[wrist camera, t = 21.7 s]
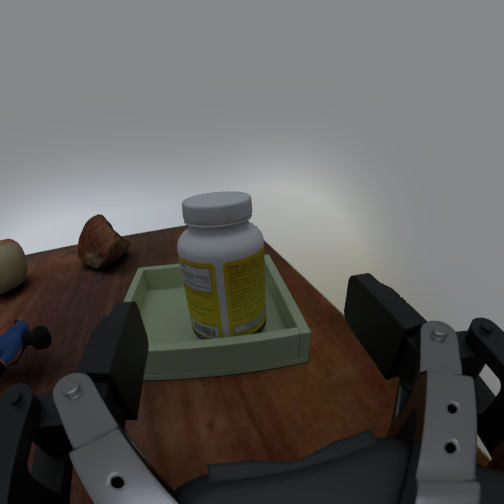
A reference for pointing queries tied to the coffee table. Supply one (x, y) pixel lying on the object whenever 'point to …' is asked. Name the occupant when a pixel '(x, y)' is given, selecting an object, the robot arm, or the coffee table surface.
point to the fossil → (100, 243)
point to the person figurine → (21, 342)
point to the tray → (220, 349)
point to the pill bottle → (222, 266)
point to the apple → (11, 265)
